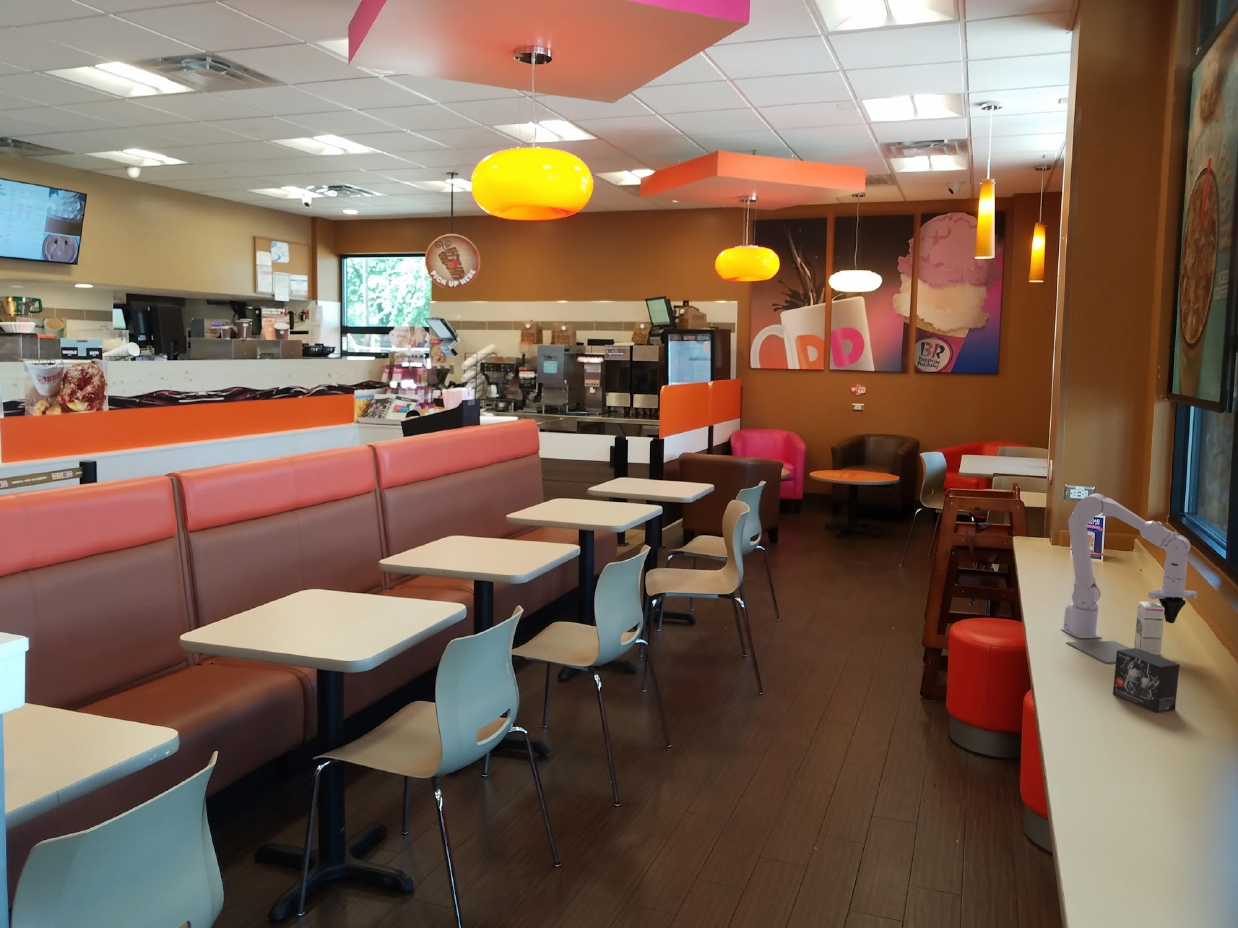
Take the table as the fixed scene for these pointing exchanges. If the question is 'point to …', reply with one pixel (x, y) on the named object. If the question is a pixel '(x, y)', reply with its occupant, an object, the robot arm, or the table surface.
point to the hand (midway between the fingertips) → (1169, 622)
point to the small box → (1146, 679)
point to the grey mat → (1100, 649)
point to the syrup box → (1149, 627)
